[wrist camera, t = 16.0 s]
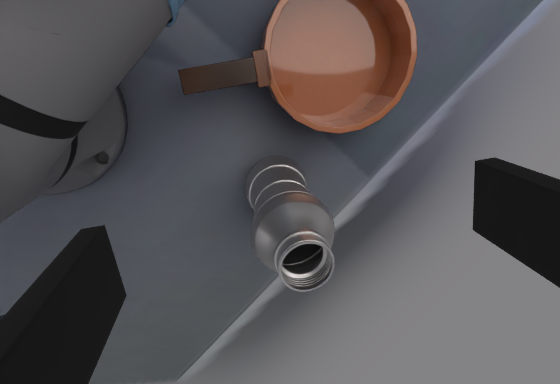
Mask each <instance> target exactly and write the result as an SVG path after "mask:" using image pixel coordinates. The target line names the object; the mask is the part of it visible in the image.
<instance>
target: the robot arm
mask: <svg viewBox="0 0 560 384" xmlns="http://www.w3.org/2000/svg"><path fill="white" fill-rule="evenodd" d="M185 1H186V0H0V222H2V221H3V220H5V219H6V218H7V217H9V216H10V215H12V214H13V213H15V212H16V211H18V210H19V209H21V208H22V207H24V206H25V205H27V204H28V203H29V202H31V201H32V200H34V199H35V198H37V197H38V196H40V195H47V194H61V193H66V192H71V191H74V190H77V189H79V188H82V187H84V186H87V185H89V184H91V183H92V182H94V181H96V180H97V179H98V178H100V177H101V176H102V175H103V174H105V173H106V172H107V171H108V170H109V169H110V168H111V167H112V166H113V164H114V163H115V162H116V160H117V159H118V157H119V155H120V154H121V152H122V149H123V147H124V144H125V140H126V135H127V112H126V107H125V103H124V100H123V97H122V94H121V92H120V90H119V88H118V84H119V83H120V82H121V81H122V80H123V78H124V77H125V76H126V75H127V73H128V72H129V71H130V70H131V68H132V67H133V66H134V65H135V63H136V62H137V61H138V60H139V59H140V57H141V56H142V55H143V54H144V52H145V51H146V50H147V49H148V47H149V46H150V45H151V44H152V42H153V41H154V40H155V39H156V38H157V36H158V35H159V34H160V33H161V31H162V30H163V29H164V28H165V26H167V27H170V26H171V25H173V23H174V22H175V21H176V18H177V15H178V10H179V9H180V8H181V6H182V5H183V4H184V2H185ZM473 230H474V231H475V232H477V233H478V234H480V235H481V236H483V237H484V238H486V239H487V240H489V241H490V242H492V243H493V244H495V245H496V246H498V247H499V248H501V249H502V250H504V251H505V252H507V253H508V254H510V255H511V256H513V257H514V258H516V259H517V260H519V261H520V262H522V263H523V264H525V265H526V266H528V267H529V268H531V269H532V270H534V271H535V272H537V273H539V274H540V275H541V276H543V277H545V278H546V279H547V280H549V281H550V282H552V283H554V284H555V285H556V286H558V287H560V180H559V179H556V178H553V177H551V176H548V175H545V174H542V173H539V172H536V171H533V170H530V169H527V168H524V167H521V166H518V165H515V164H512V163H509V162H506V161H504V160H501V159H497V158H489V159H484V160H478V161H475V178H474V209H473ZM125 298H126V292H125V289H124V286H123V283H122V279H121V276H120V273H119V270H118V267H117V263H116V260H115V257H114V254H113V251H112V247H111V244H110V241H109V238H108V234H107V231H106V228H105V225H103V226H97V227H91V228H85V229H81V230H80V231H79V232H78V233H77V234H76V235H75V237H74V238H73V239H72V240H71V241H70V242H69V243H68V245H67V246H66V247H65V248H64V249H63V250H62V251H61V252H60V254H59V255H58V256H57V257H56V258H55V259H54V260H53V261H52V263H51V264H50V265H49V266H48V267H47V268H46V269H45V270H44V272H43V273H42V274H41V275H40V276H39V277H38V278H37V279H36V281H35V282H34V283H33V284H32V285H31V286H30V287H29V288H28V290H27V291H26V292H25V293H24V294H23V295H22V296H21V298H20V299H19V300H18V301H17V302H16V303H15V304H14V305H13V307H12V308H11V309H10V310H9V311H8V312H7V313H6V314H5V315H3V316H0V384H88V383H89V381H90V378H91V376H92V374H93V372H94V369H95V367H96V365H97V362H98V360H99V358H100V355H101V353H102V351H103V348H104V346H105V344H106V341H107V339H108V337H109V335H110V332H111V330H112V328H113V325H114V323H115V321H116V318H117V316H118V314H119V311H120V309H121V307H122V305H123V302H124V300H125Z"/></svg>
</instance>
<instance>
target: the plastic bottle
mask: <svg viewBox="0 0 560 384" xmlns="http://www.w3.org/2000/svg"><path fill="white" fill-rule="evenodd" d="M307 188H308V187H307V180H306V176H305V173H304V171H303V170H302V168H301V167H300V166H299V165H298V164H297V163H296V162H294V161H293V160H290V159H288V158H285V157H280V156H273V157H268V158H265V159H263V160H261V161H260V162H258V163H257V164H256V165H255V166H254V167H253V168H252V170H251V171H250V173H249V175H248V177H247V180H246V184H245V193H246V197H247V200H248V202H249V204H250V206H251V207H252V208H253V210H254V219H253V223H252V227H251V242H252V247H253V249H254V252H255V254H256V255H257V257H258V258H259V259H260V260H261V261H262V262H263V263H264V264H265V265H266V266H267V267H268V268H270V269H272V270H273V271H276V272H278V273H279V276H280V278H281V280H282V281H283V283H284V284H285V285H286V286H287V287H289V288H291V289H292V290H295V291H301V292H305V291H311V290H315V289H317V288H319V287H321V286H322V285H323V284H325V283H326V282H327V281H328V280H329V278H330V277H331V275H332V273H333V270H334V265H335V262H334V256H333V253H332V251H331V247H332V244H333V240H334V221H333V218H332V215H331V213H330V211H329V210H328V208H327V207H326V206H325V205H324V204H323V203H322V202H321V201H320V200H319V199H318V198H316V197H315V196H313V195H312V194H311V193H310V192H309V191H308V189H307Z"/></svg>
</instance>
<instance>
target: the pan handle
mask: <svg viewBox="0 0 560 384" xmlns="http://www.w3.org/2000/svg"><path fill="white" fill-rule="evenodd" d="M265 52H266V50H264V49H262V50H256V51H252V52H251V58H245V59H239V60H233V61H228V62H222V63H216V64H210V65H204V66H198V67H193V68H187V69H181V70H178V72H179V76H180V80H181V85H182V89H183V93H184V95H187V94H193V93H199V92H204V91H210V90H216V89H221V88H227V87H233V86H238V85H244V84H250V83H255V82H256V85H257V87H259V88H260V87H266V86H270V84H269V83H270V82H268V81H270V80H271V72H270V69H268V68H270V65H269V61H268V60H269V59H267V58H268V57H267V56H268V55H267V54H268V53H267V52H266V53H265ZM265 55H266V56H265ZM265 57H266V58H265ZM265 60H266V61H265ZM267 61H268V62H267ZM265 63H266V64H265ZM268 65H269V66H268ZM266 66H268V67H266ZM266 68H267V69H266ZM268 71H269V72H268ZM267 72H268V73H270V75H269V76H267V75H268V73H267ZM268 77H269V80H268ZM271 84H272V82H271Z"/></svg>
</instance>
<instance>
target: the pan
mask: <svg viewBox="0 0 560 384" xmlns="http://www.w3.org/2000/svg"><path fill="white" fill-rule="evenodd" d="M262 49H264V50H266V52H267V53H268V54H267V55H268V56H267V57H268V58H267V59H269V60H268V61H269V65H270V68H268V69H270V72H271V80H270V81H268V82H270V83H269V84H270V86H267V88H268V90H269V92H270V94H271V96H272V98H273V99H274V101H275V102H276V103H277V104H278V105H279V106H280V107H281V108H282V109H283V110H284V111H285V112H286V113H287V114H288V115H289V116H291V117H292V118H293V119H295V120H296V121H298V122H300V123H302V124H304V125H306V126H308V127H310V128H312V129H314V130H317V131H322V132H330V133H337V134H338V133H339V134H340V133H345V132H351V131H356V130H361V129H363V128H365V127H367V126H369V125H370V124H372V123H374V122H376V121H378V120H380V119H381V118H383V117H384V116H385V115H386V114H387V113H388V112H389V111H390V110H391V109H392V108H393V107H394V106H395V105H396V104H397V103H398V102H399V100H400V99H401V97H402V95H403V93H404V91H405V90H406V88H407V86H408V84H409V82H410V81H411V78H412V74H413V70H414V66H415V61H416V57H417V39H416V27H415V24H414V21H413V19H412V16H411V13H410V10H409V7H408V5H407V3H406V2H405V0H280V1H279V2H278V3H277V5H276V6H275V7H274V9H273V10H272V12H271V14H270V16H269V19H268V21H267V23H266V25H265V27H264V30H263V33H262V38H261V46H260V50H262ZM266 52H265V53H266ZM265 56H266V55H265ZM265 58H266V57H265ZM265 61H266V60H265ZM268 61H267V62H268ZM265 64H266V63H265ZM269 65H268V66H269ZM268 66H266V67H268ZM266 69H267V68H266ZM268 72H269V71H268ZM268 72H267V73H268ZM269 75H270V73H268V75H267V76H269ZM268 80H269V77H268ZM271 82H272V84H271Z"/></svg>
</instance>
